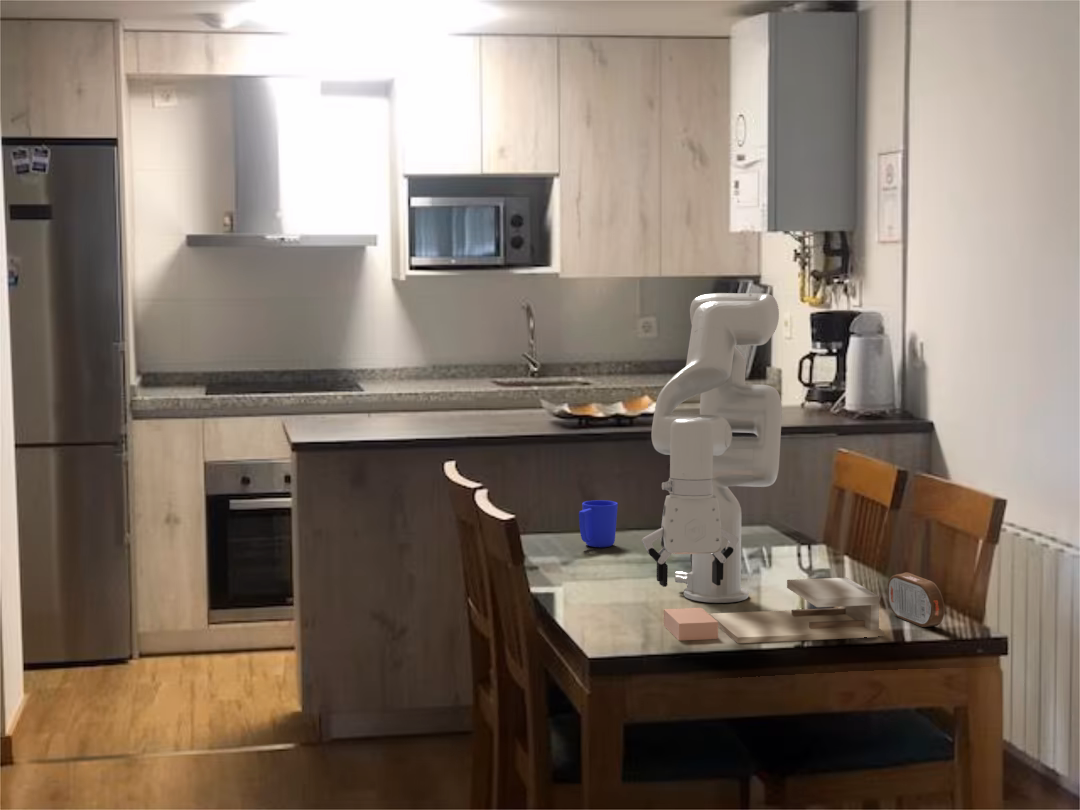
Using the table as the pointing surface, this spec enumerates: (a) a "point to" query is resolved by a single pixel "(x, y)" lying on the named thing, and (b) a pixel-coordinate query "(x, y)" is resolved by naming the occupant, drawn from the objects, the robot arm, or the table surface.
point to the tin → (915, 600)
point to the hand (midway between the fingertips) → (689, 584)
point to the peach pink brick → (690, 624)
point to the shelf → (810, 615)
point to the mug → (598, 522)
